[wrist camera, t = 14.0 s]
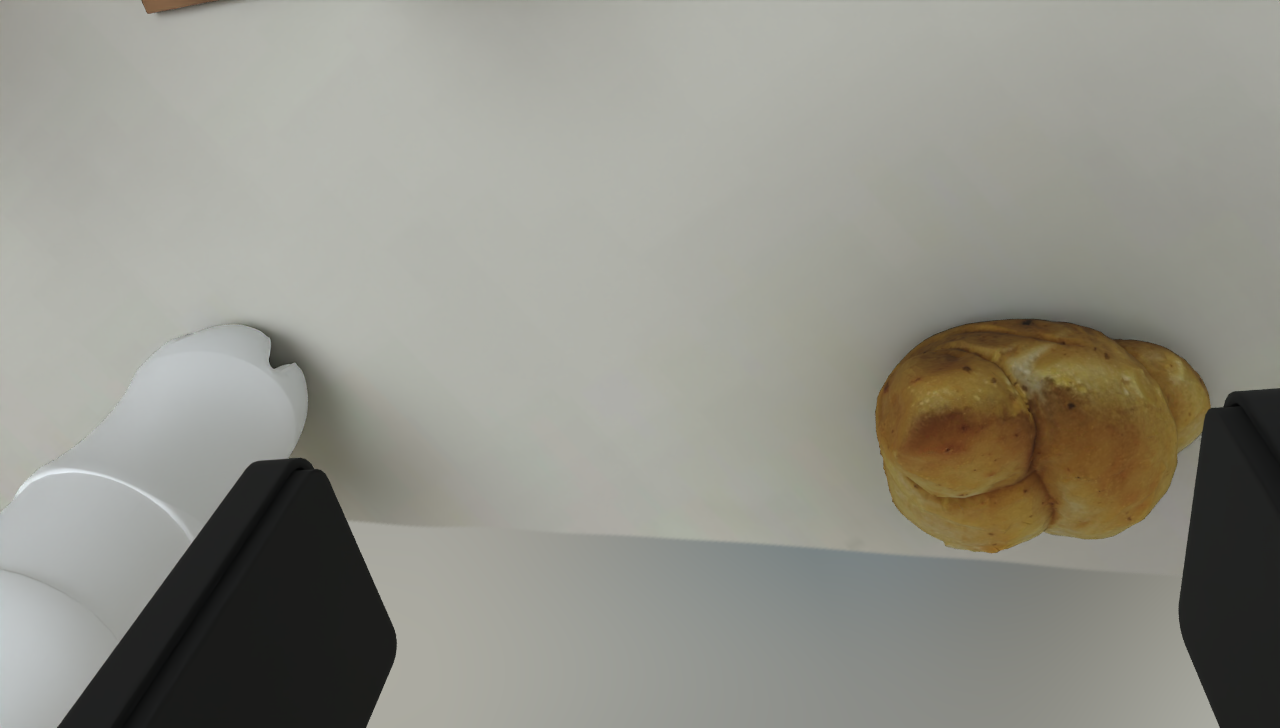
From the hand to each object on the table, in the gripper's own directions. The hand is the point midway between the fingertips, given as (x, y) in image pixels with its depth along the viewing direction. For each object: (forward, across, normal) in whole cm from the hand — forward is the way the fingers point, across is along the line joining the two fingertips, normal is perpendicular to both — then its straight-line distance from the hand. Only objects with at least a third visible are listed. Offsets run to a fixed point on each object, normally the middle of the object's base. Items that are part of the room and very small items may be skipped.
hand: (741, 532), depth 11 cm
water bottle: (+28, +26, +14) cm, 40 cm away
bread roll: (+28, -8, +18) cm, 35 cm away
